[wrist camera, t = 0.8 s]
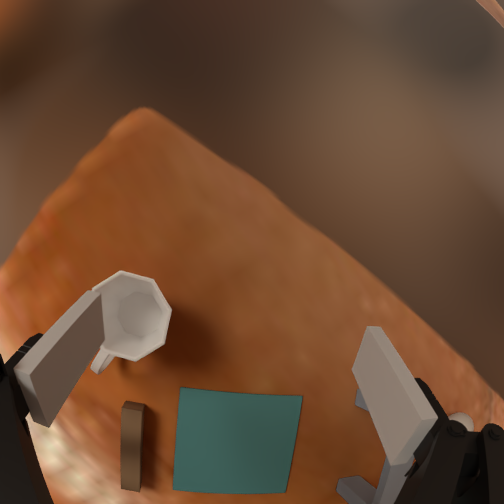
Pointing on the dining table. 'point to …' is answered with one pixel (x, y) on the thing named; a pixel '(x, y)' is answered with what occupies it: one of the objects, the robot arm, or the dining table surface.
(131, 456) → the strip
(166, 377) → the dining table surface
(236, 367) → the dining table surface
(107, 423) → the dining table surface
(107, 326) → the cup
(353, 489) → the bridge
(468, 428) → the ball
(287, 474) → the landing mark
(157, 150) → the dining table surface
